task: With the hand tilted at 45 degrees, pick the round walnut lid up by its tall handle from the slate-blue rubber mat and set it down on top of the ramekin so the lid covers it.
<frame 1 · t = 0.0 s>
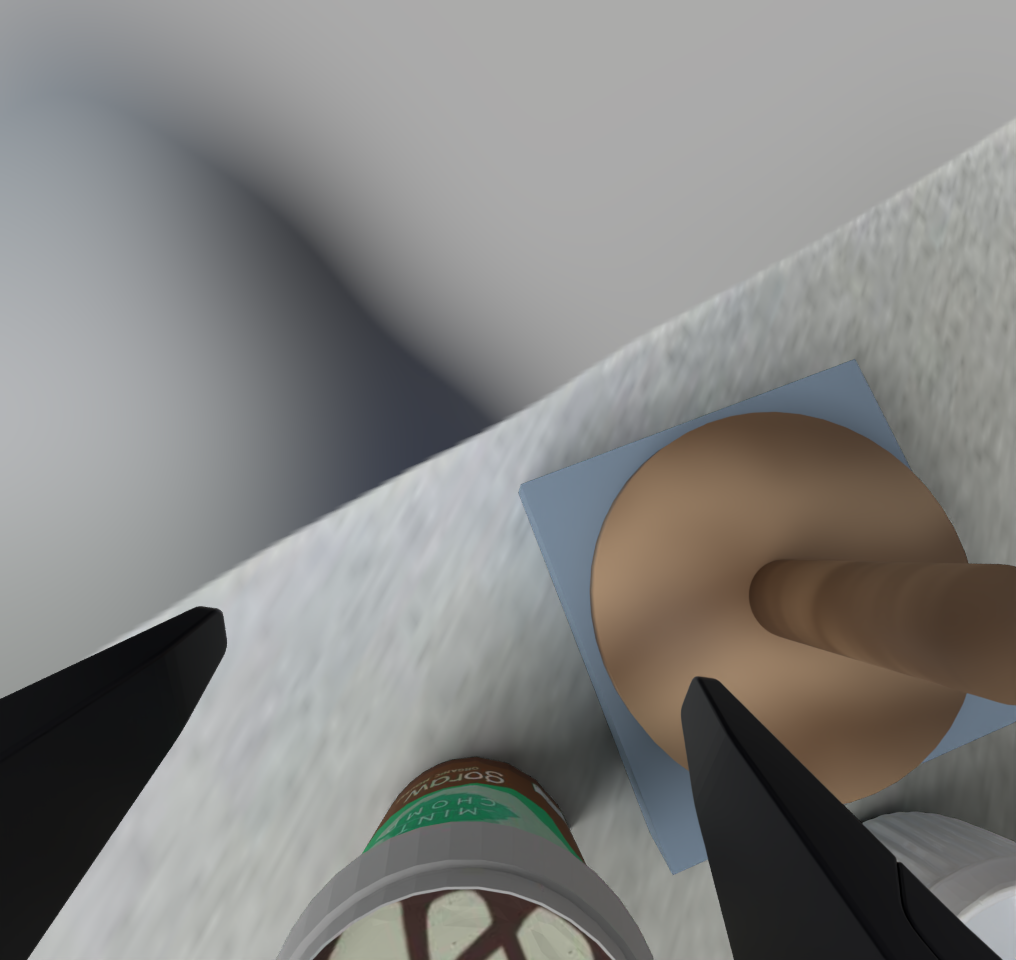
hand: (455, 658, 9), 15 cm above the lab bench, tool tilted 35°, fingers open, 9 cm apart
ramekin: (908, 934, 22), on the lab bench
food container: (452, 803, 23), on the lab bench
mat: (737, 590, 24), on the lab bench
lid: (771, 595, 21), point 3 cm above the lab bench, touching mat
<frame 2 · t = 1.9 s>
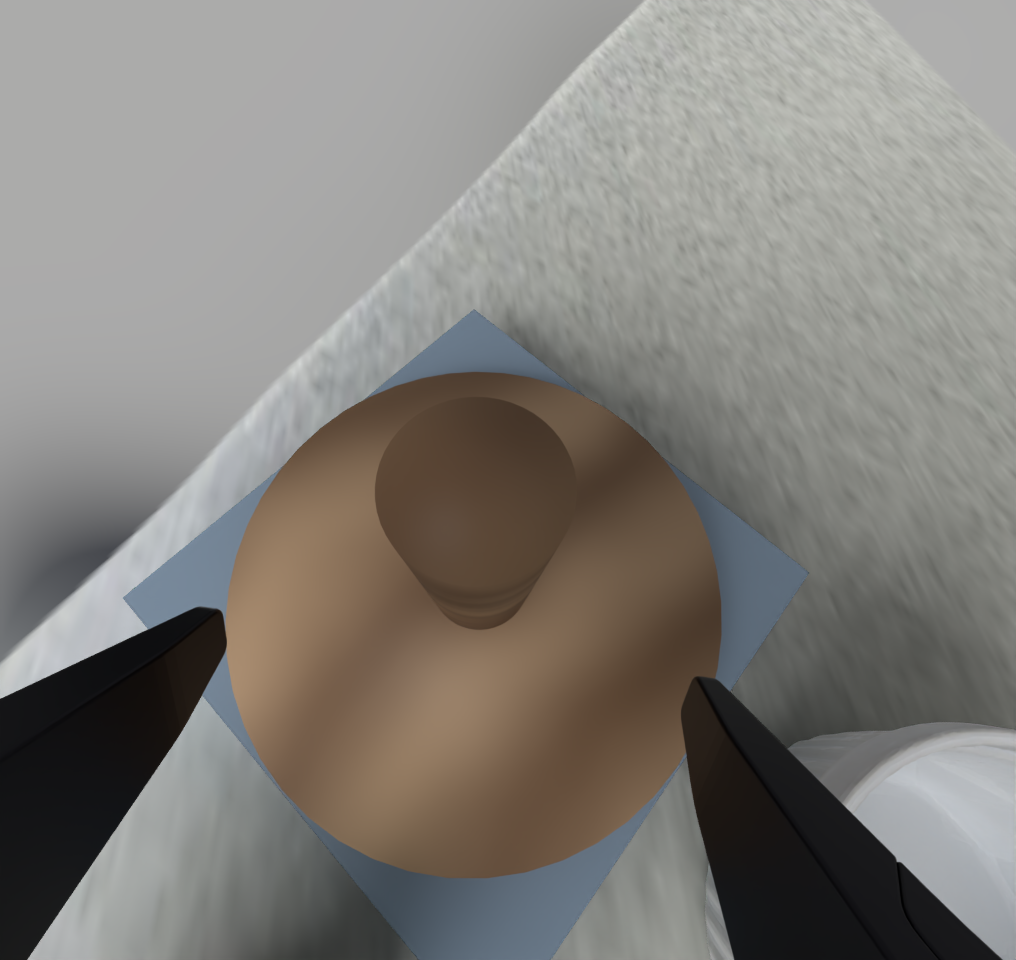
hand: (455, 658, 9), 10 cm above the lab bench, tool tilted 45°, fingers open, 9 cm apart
ramekin: (856, 916, 17), on the lab bench
mat: (480, 596, 20), on the lab bench
lid: (480, 584, 17), point 3 cm above the lab bench, touching mat
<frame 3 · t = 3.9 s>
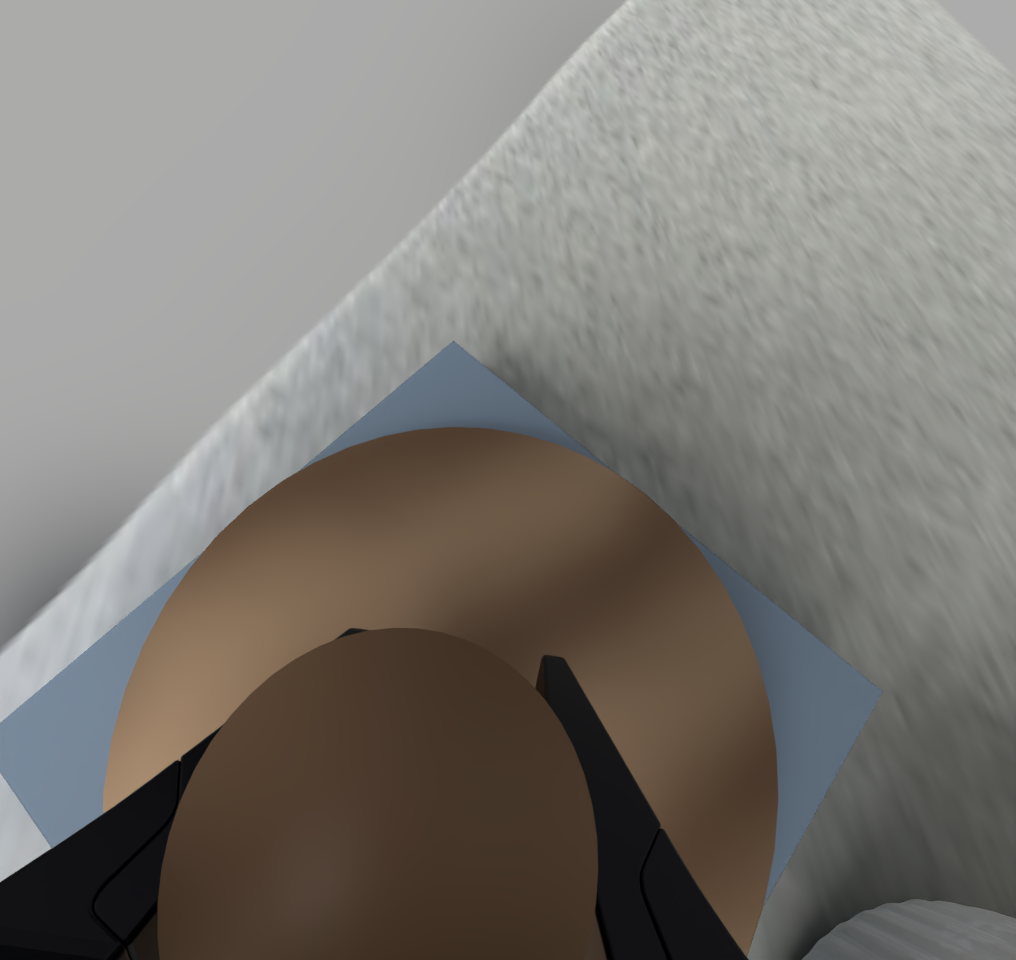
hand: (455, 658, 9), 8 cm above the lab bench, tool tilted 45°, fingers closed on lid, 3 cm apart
mat: (460, 705, 16), on the lab bench
lid: (456, 714, 13), point 3 cm above the lab bench, touching gripper, mat
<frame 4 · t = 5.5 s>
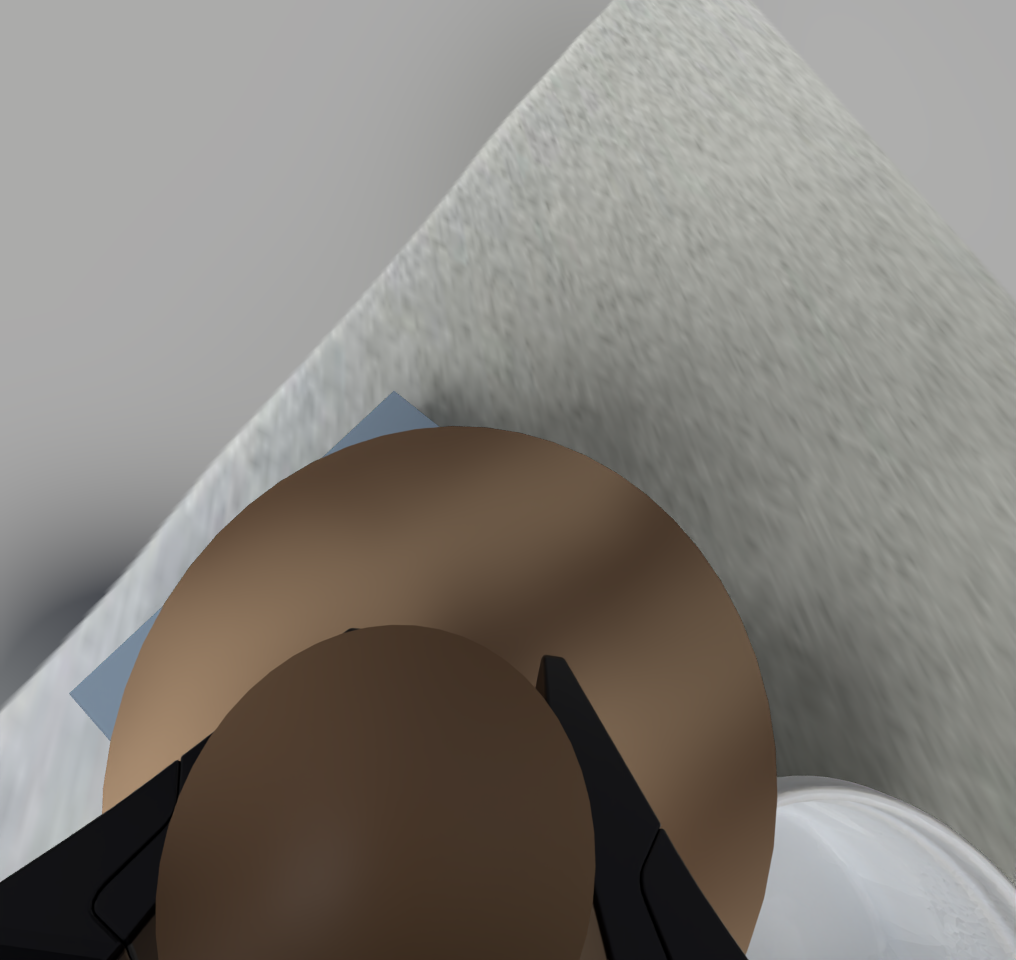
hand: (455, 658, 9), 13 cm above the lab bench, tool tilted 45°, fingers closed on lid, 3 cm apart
ramekin: (743, 933, 19), on the lab bench
mat: (409, 660, 22), on the lab bench
lid: (455, 713, 13), point 9 cm above the lab bench, touching gripper
when the fingers open (12 cm above the lab bench, at t = 7.3 s): lid drops 1 cm, resting on ramekin.
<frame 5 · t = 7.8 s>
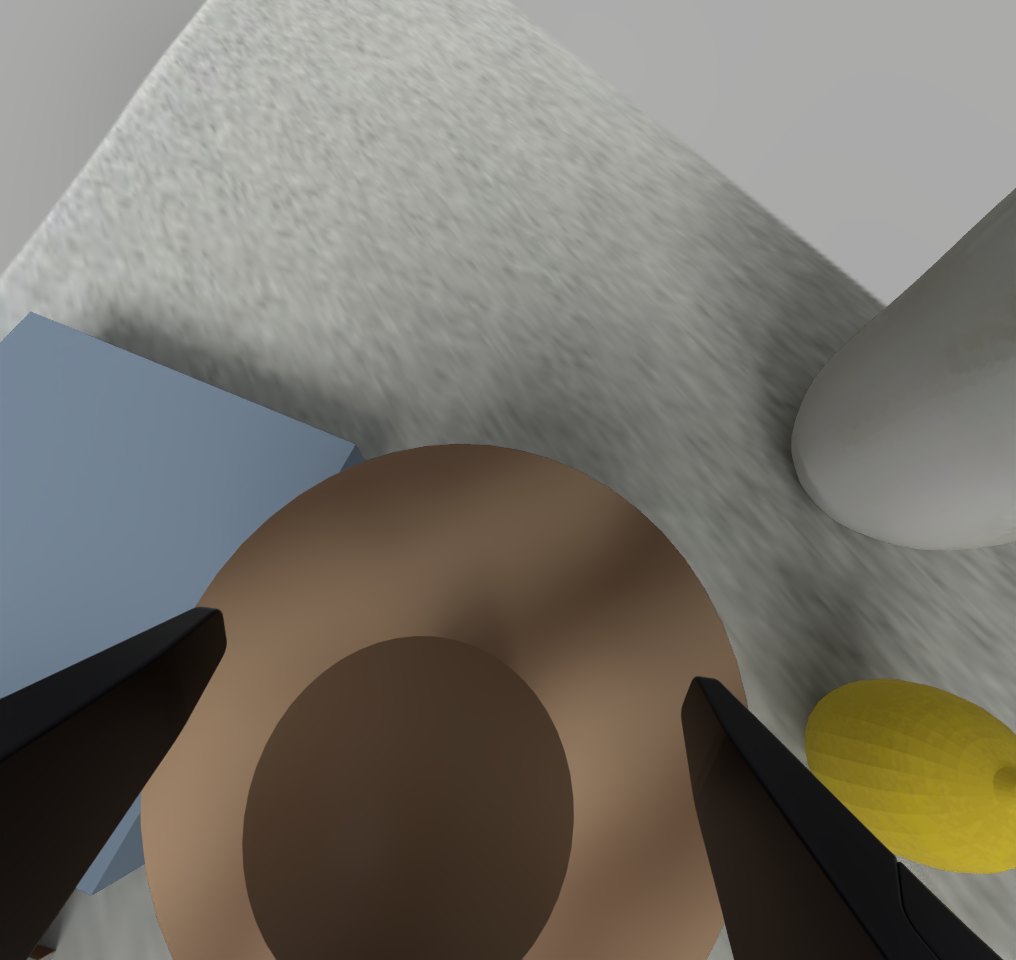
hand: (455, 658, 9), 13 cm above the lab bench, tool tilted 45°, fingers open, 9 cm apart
glass bottle: (846, 476, 25), on the lab bench
mat: (110, 561, 22), on the lab bench
lemon: (827, 745, 21), on the lab bench
lid: (459, 710, 14), point 7 cm above the lab bench, touching ramekin
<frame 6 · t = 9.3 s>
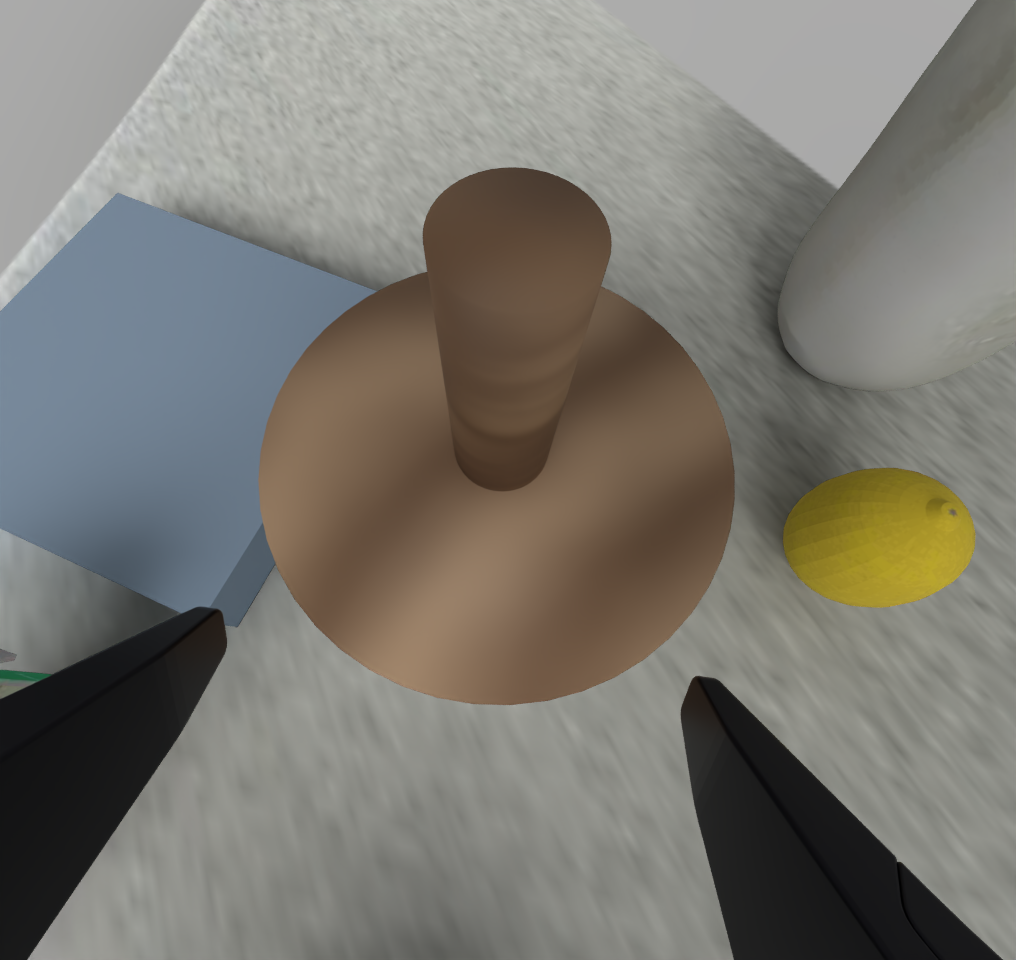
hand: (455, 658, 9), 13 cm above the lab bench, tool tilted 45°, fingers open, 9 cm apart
glass bottle: (827, 349, 28), on the lab bench
food container: (29, 776, 20), on the lab bench
mat: (189, 404, 25), on the lab bench
lemon: (804, 557, 24), on the lab bench
lid: (500, 460, 18), point 7 cm above the lab bench, touching ramekin
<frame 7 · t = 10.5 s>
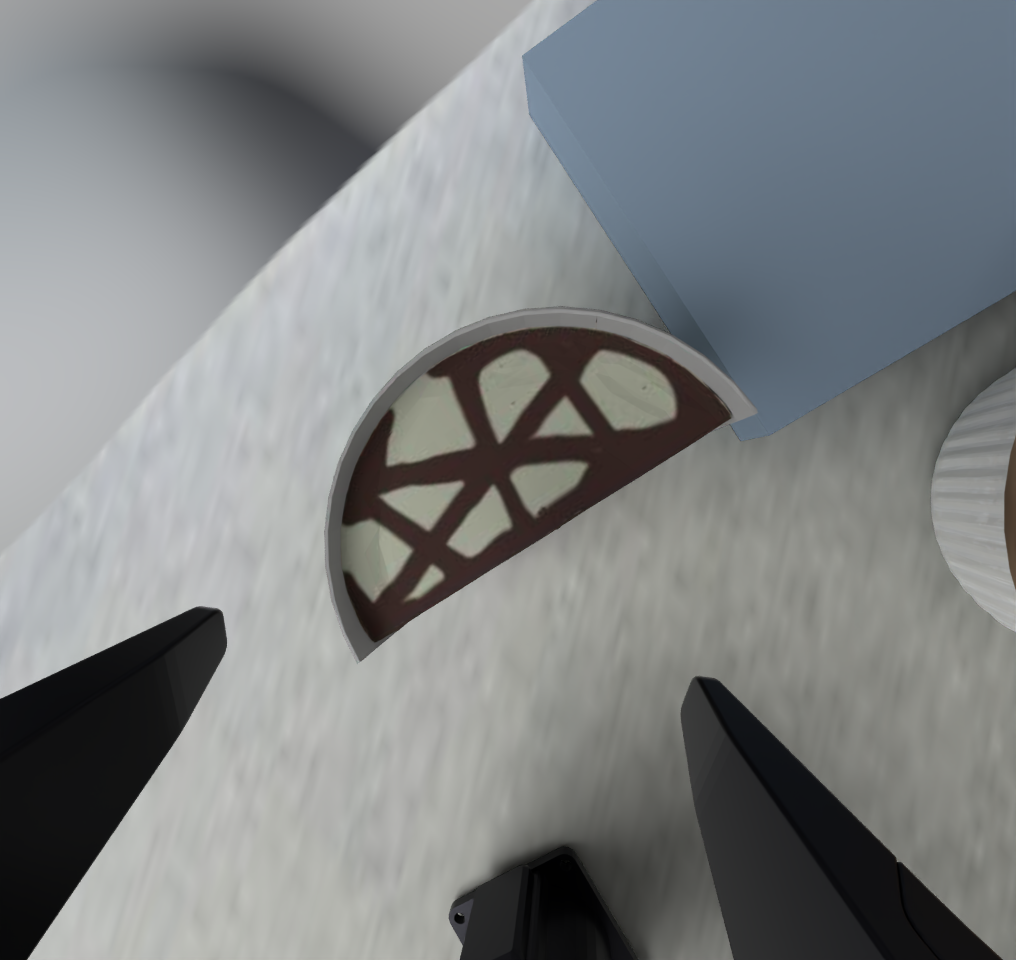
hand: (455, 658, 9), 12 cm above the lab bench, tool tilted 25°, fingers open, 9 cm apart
food container: (521, 454, 22), on the lab bench
mat: (814, 154, 20), on the lab bench
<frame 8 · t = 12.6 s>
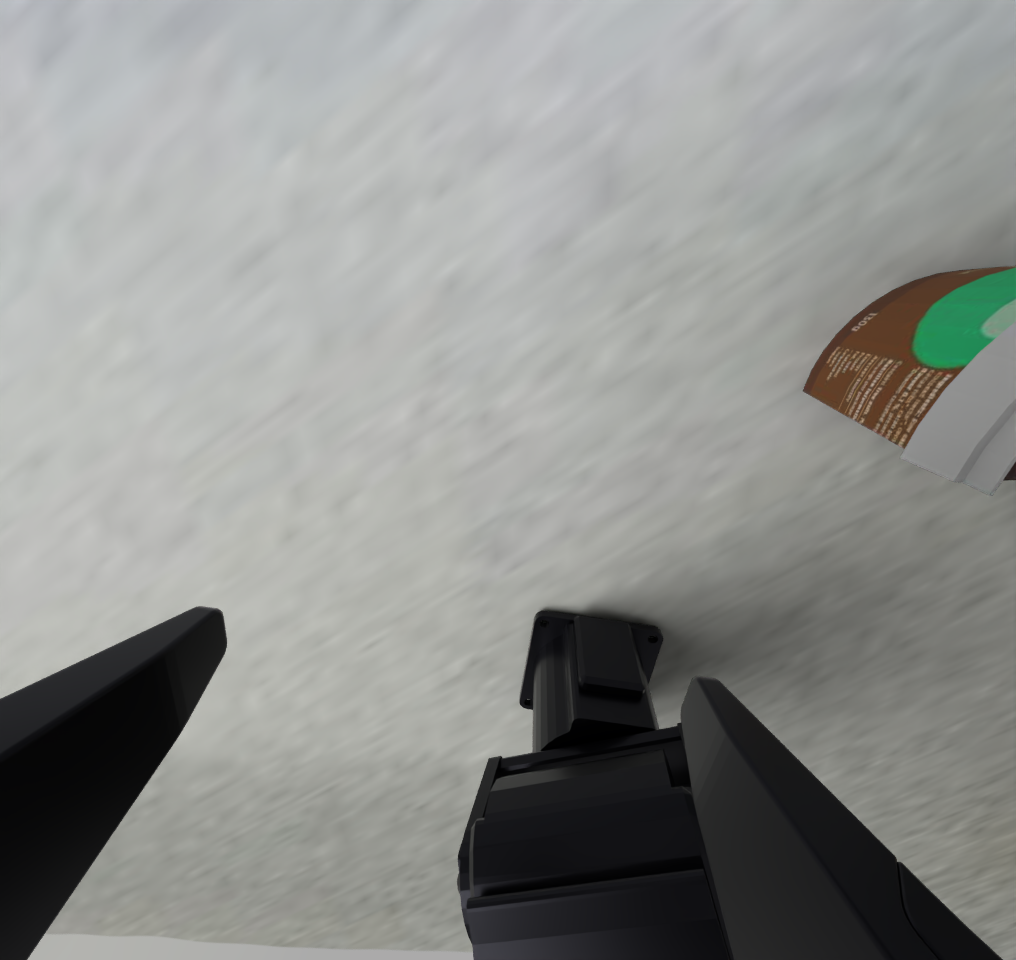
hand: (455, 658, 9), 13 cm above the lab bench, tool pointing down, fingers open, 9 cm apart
food container: (951, 324, 18), on the lab bench
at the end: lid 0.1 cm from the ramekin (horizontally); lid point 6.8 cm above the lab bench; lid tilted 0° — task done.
